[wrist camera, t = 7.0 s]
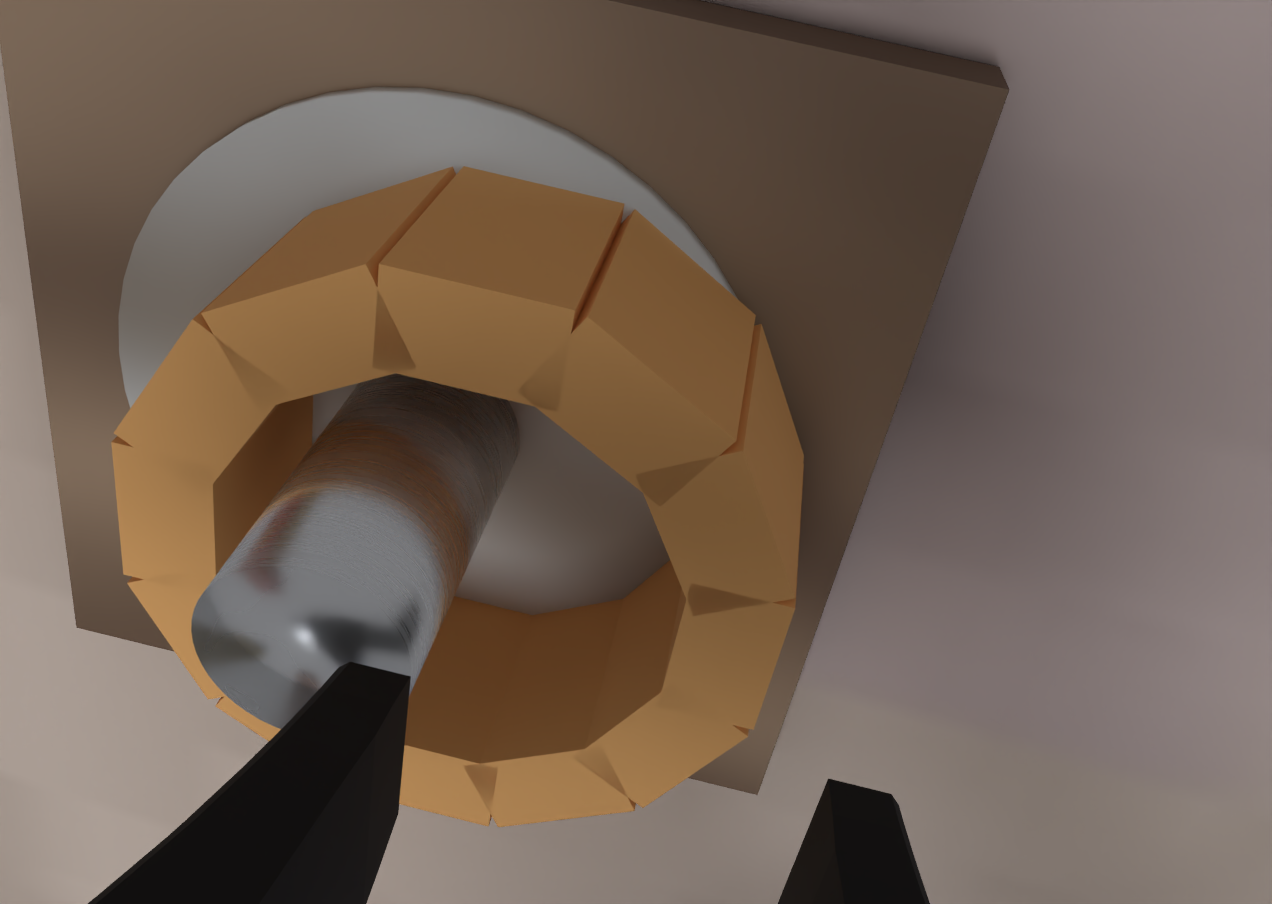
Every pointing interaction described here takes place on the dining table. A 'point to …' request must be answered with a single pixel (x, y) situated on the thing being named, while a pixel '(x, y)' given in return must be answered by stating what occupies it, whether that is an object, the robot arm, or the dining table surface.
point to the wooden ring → (567, 394)
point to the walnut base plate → (511, 146)
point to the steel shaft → (358, 545)
